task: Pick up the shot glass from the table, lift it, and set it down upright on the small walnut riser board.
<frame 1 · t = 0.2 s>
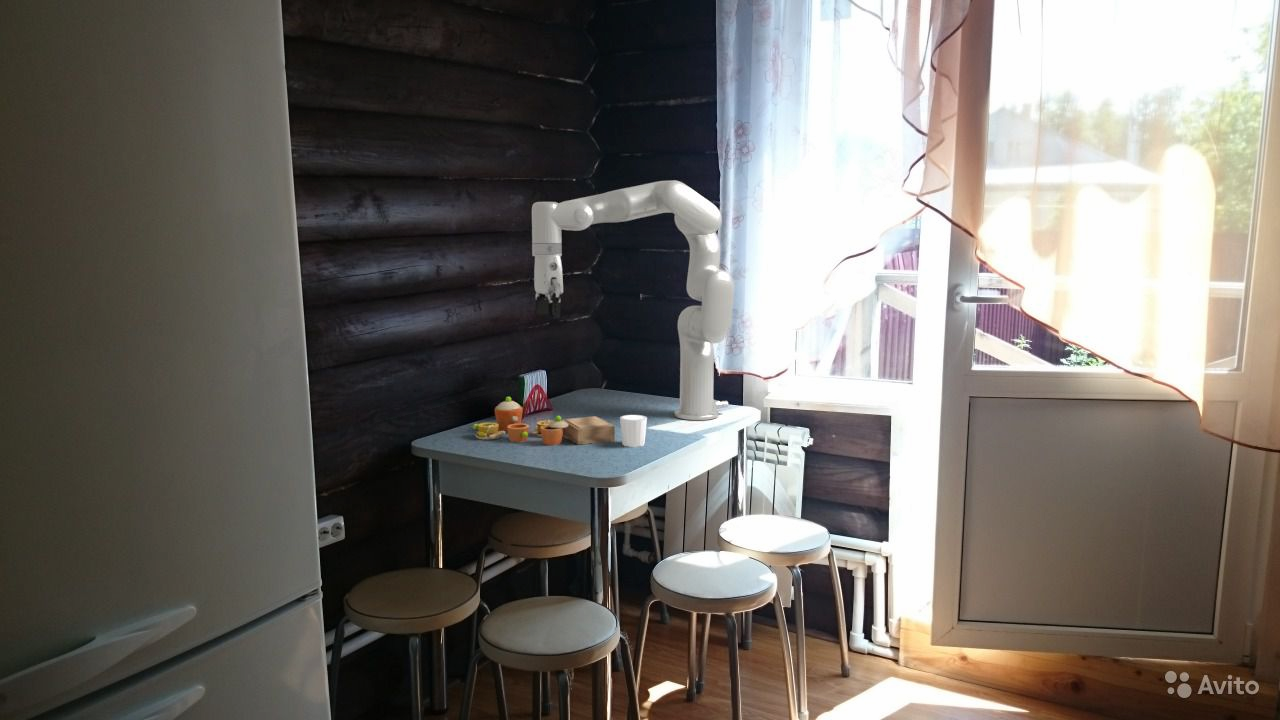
hand: (547, 316, 239), 31 cm above the table, tool pointing down, fingers open, 9 cm apart
riser: (587, 437, 237), on the table
toy tea set: (526, 438, 239), on the table
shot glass: (633, 445, 231), on the table
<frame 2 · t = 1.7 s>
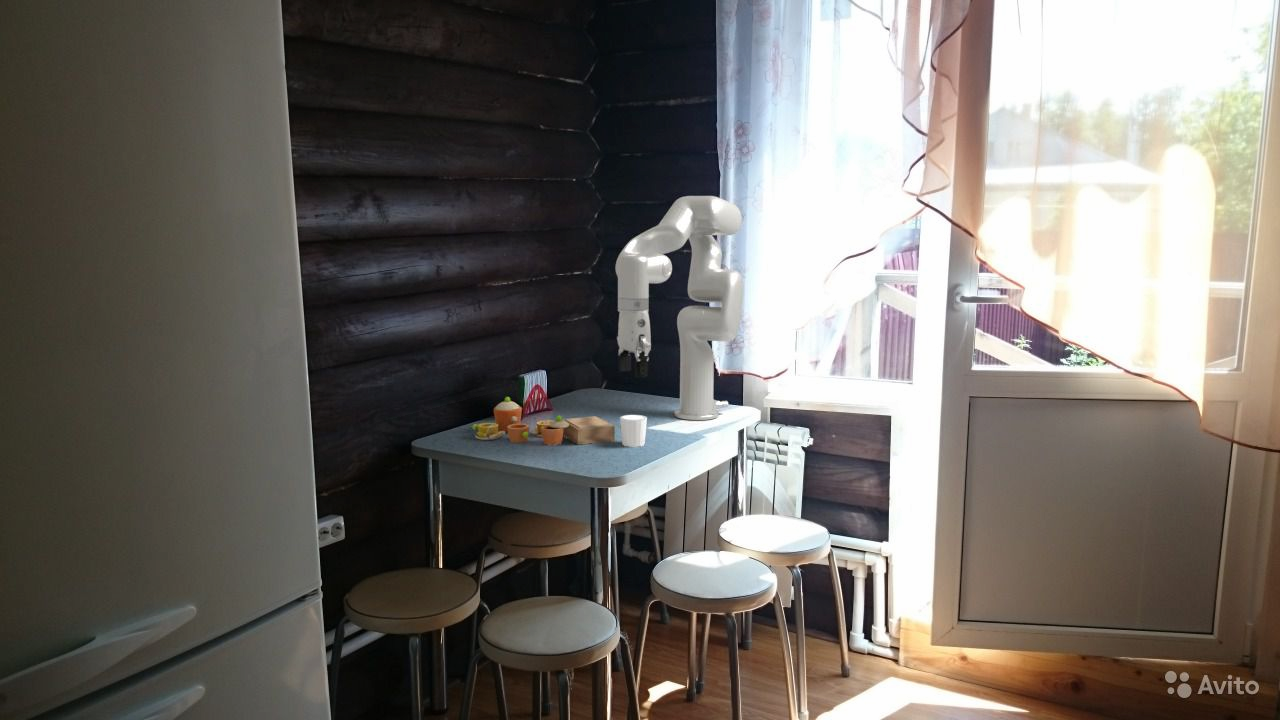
hand: (633, 374, 228), 18 cm above the table, tool pointing down, fingers open, 9 cm apart
nothing on the table moved.
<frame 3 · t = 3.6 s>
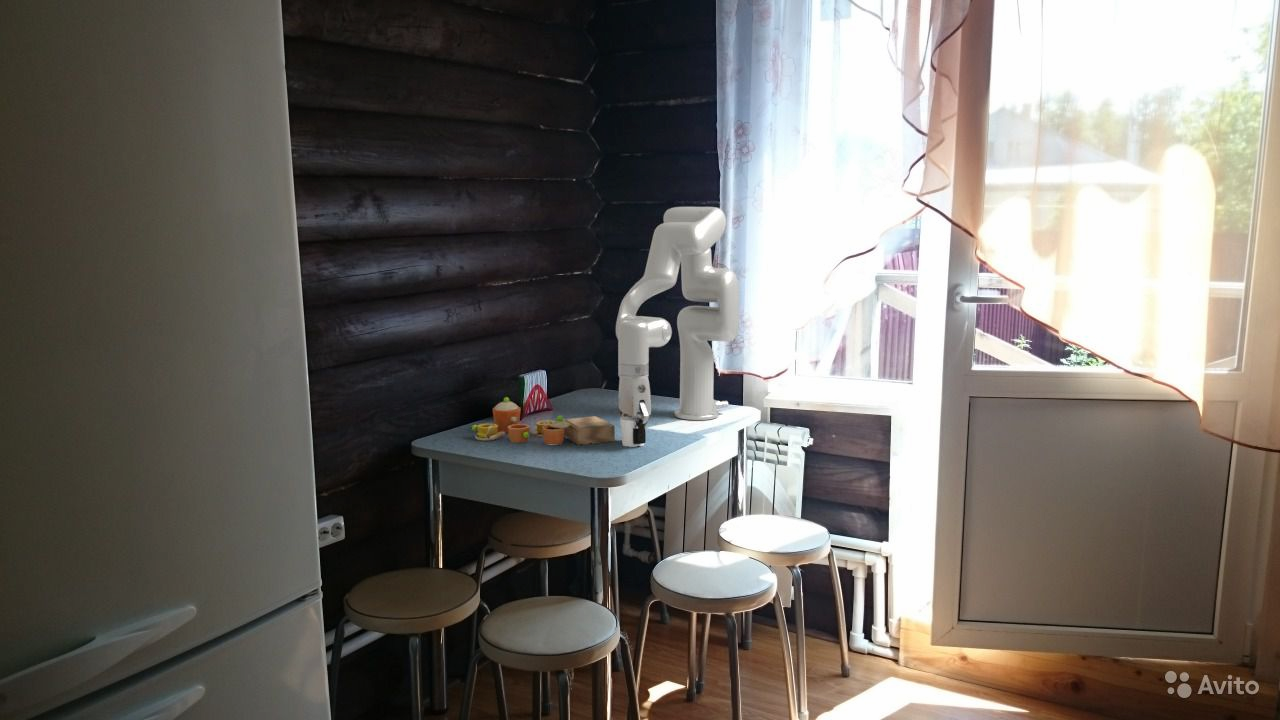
hand: (633, 439, 231), 1 cm above the table, tool pointing down, fingers closed on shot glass, 6 cm apart
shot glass: (633, 445, 231), on the table, touching gripper
everything else where it was.
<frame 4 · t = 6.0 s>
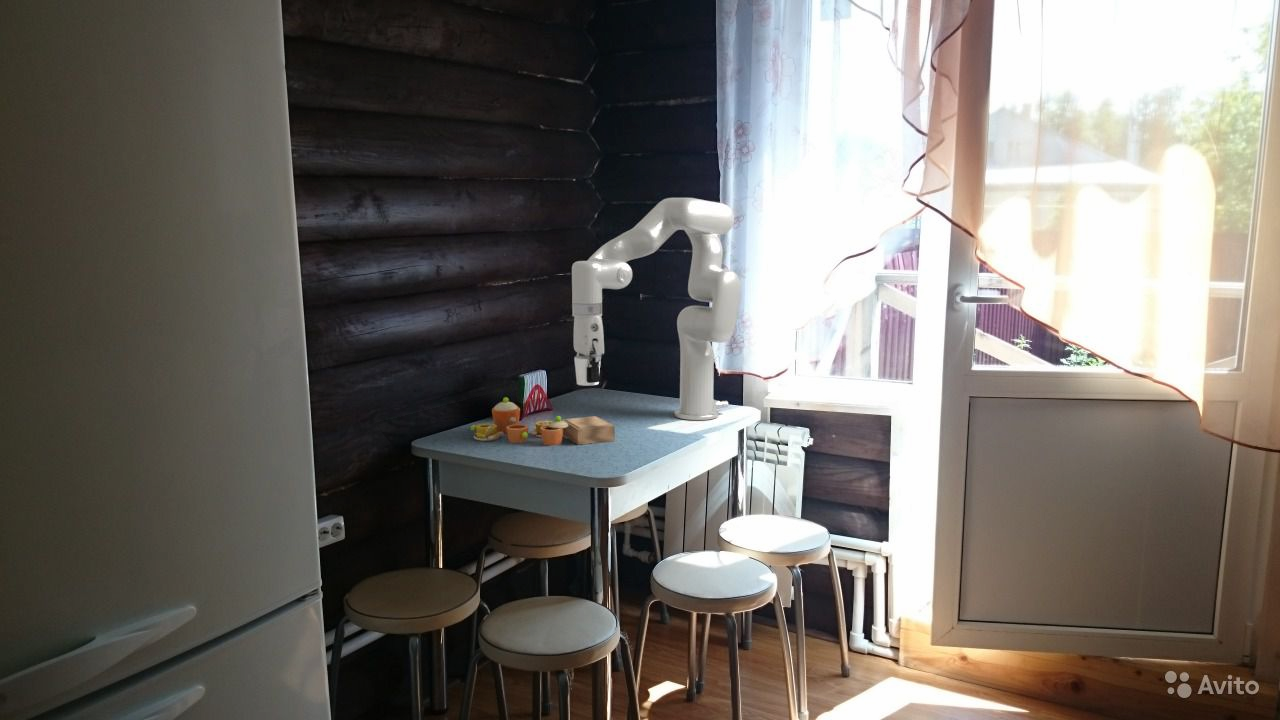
hand: (587, 379, 235), 15 cm above the table, tool pointing down, fingers closed on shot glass, 6 cm apart
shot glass: (587, 384, 235), point 14 cm above the table, touching gripper
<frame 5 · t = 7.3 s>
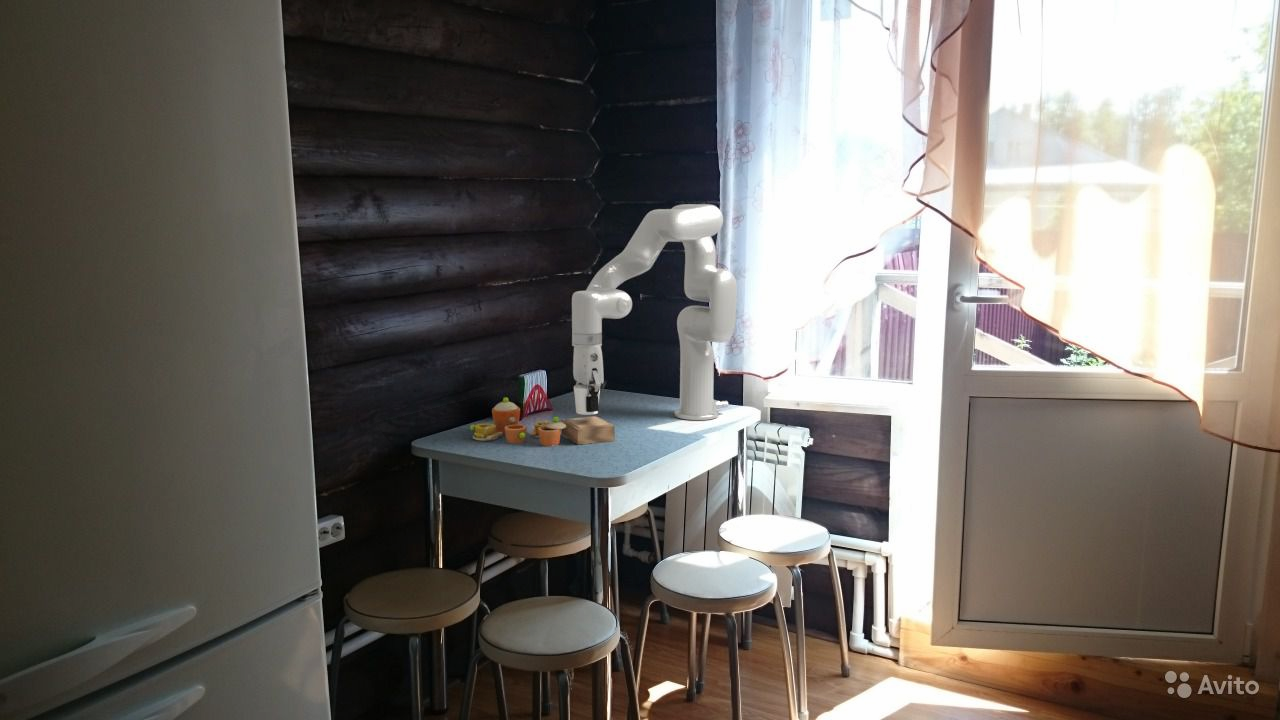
hand: (587, 408, 236), 8 cm above the table, tool pointing down, fingers closed on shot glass, 6 cm apart
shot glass: (587, 413, 236), point 7 cm above the table, touching gripper
when the fingers open (6 cm above the table, at t = 8.1 s): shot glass drops 1 cm, resting on riser.
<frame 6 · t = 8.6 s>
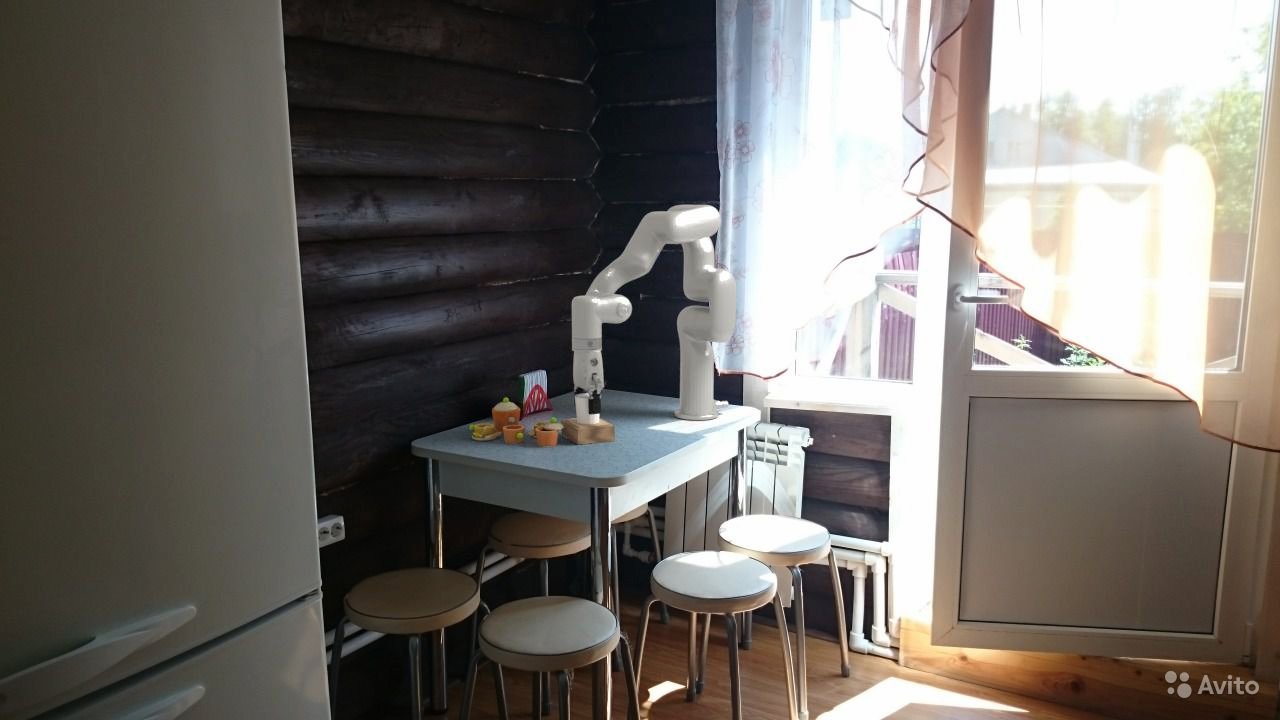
hand: (587, 410, 236), 7 cm above the table, tool pointing down, fingers open, 9 cm apart
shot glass: (588, 422, 237), point 4 cm above the table, touching riser
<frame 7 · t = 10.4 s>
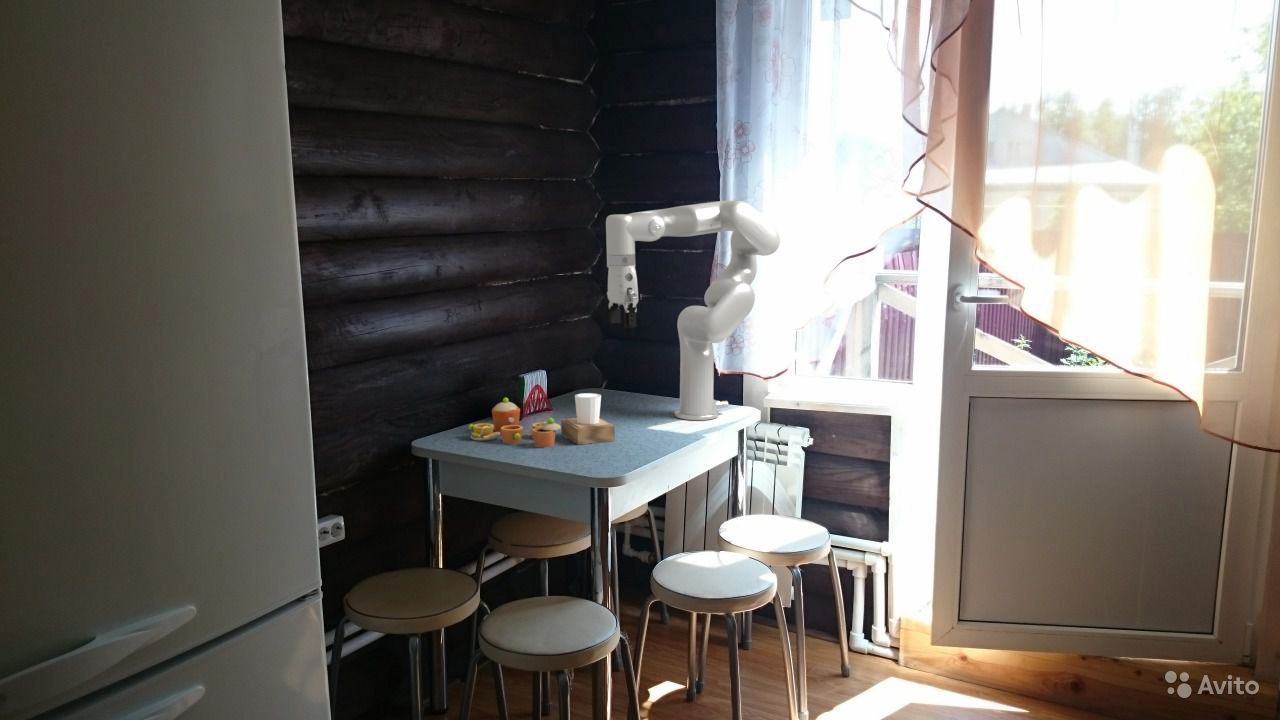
hand: (622, 325, 246), 28 cm above the table, tool pointing down, fingers open, 9 cm apart
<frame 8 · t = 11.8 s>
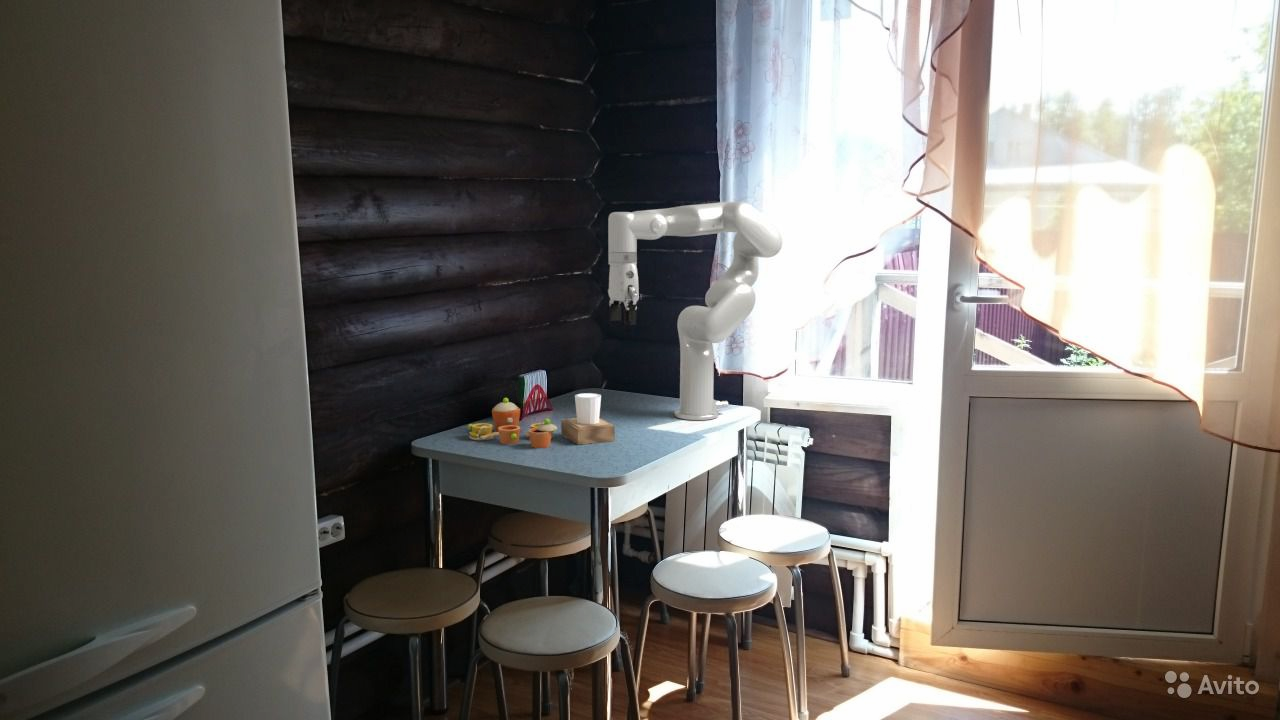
hand: (622, 322, 247), 28 cm above the table, tool pointing down, fingers open, 9 cm apart
at the end: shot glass inside the target area on the riser (0.1 cm from its centre), point 4.1 cm above the riser's base; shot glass tilted 0°; the gripper is holding nothing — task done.
